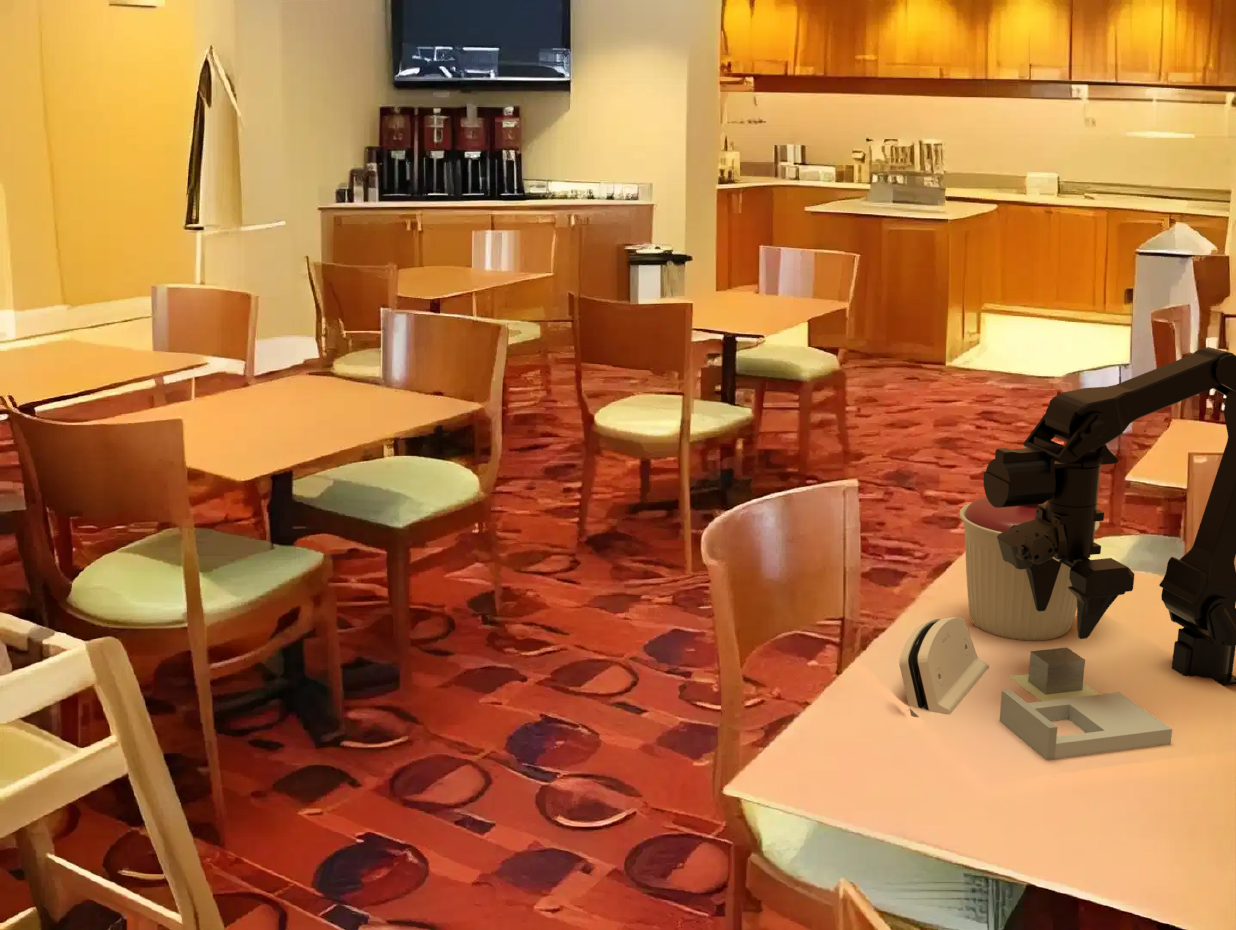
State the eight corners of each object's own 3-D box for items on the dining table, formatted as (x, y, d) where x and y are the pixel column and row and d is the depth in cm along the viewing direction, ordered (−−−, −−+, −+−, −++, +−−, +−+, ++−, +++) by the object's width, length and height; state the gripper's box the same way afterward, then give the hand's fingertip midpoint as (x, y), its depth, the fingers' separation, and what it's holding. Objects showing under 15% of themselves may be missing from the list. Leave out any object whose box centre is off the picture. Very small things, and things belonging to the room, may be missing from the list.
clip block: (1064, 677, 168) (1066, 647, 167) (1082, 690, 165) (1085, 659, 164) (1028, 681, 167) (1030, 651, 166) (1045, 694, 163) (1048, 664, 162)
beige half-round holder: (951, 726, 158) (928, 645, 157) (914, 729, 161) (890, 650, 160) (992, 675, 172) (971, 601, 171) (957, 680, 174) (936, 606, 174)
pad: (1065, 678, 171) (1065, 669, 171) (1101, 705, 163) (1102, 695, 163) (1007, 685, 169) (1008, 676, 169) (1042, 712, 161) (1043, 703, 161)
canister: (968, 599, 198) (977, 460, 193) (1097, 620, 190) (1111, 475, 185) (938, 642, 182) (947, 492, 177) (1077, 666, 175) (1092, 510, 169)
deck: (1116, 715, 161) (1120, 676, 159) (1169, 753, 151) (1174, 712, 150) (998, 730, 157) (1001, 690, 156) (1045, 770, 148) (1049, 728, 146)
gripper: (971, 484, 167) (963, 603, 171) (1054, 529, 149) (1043, 661, 153) (1051, 478, 169) (1042, 595, 173) (1142, 521, 152) (1130, 650, 156)
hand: (1061, 624), depth 164 cm, fingers open, 9 cm apart
